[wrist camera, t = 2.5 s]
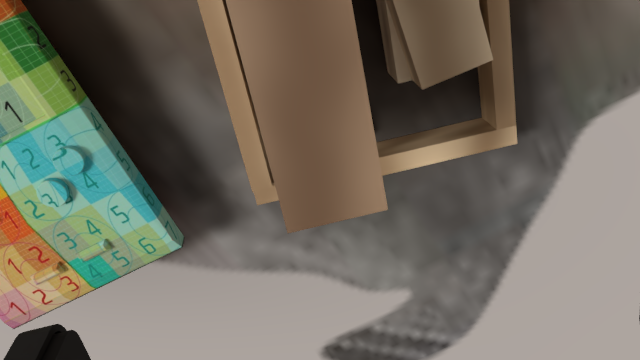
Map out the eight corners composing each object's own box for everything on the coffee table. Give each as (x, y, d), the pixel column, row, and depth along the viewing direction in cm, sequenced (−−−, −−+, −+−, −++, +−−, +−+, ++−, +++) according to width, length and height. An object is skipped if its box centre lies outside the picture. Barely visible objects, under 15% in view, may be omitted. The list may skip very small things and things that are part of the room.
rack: (478, -203, 29) (520, -226, 24) (501, 130, 37) (536, 159, 32) (166, -133, 29) (150, -143, 24) (256, 188, 36) (258, 225, 32)
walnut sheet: (302, -70, 31) (340, -65, 18) (336, 104, 35) (388, 209, 22) (229, -54, 30) (216, -36, 18) (273, 119, 35) (287, 233, 22)
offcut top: (447, -64, 29) (460, -63, 27) (479, 52, 32) (493, 59, 30) (374, -32, 29) (383, -29, 27) (412, 80, 32) (422, 89, 30)
